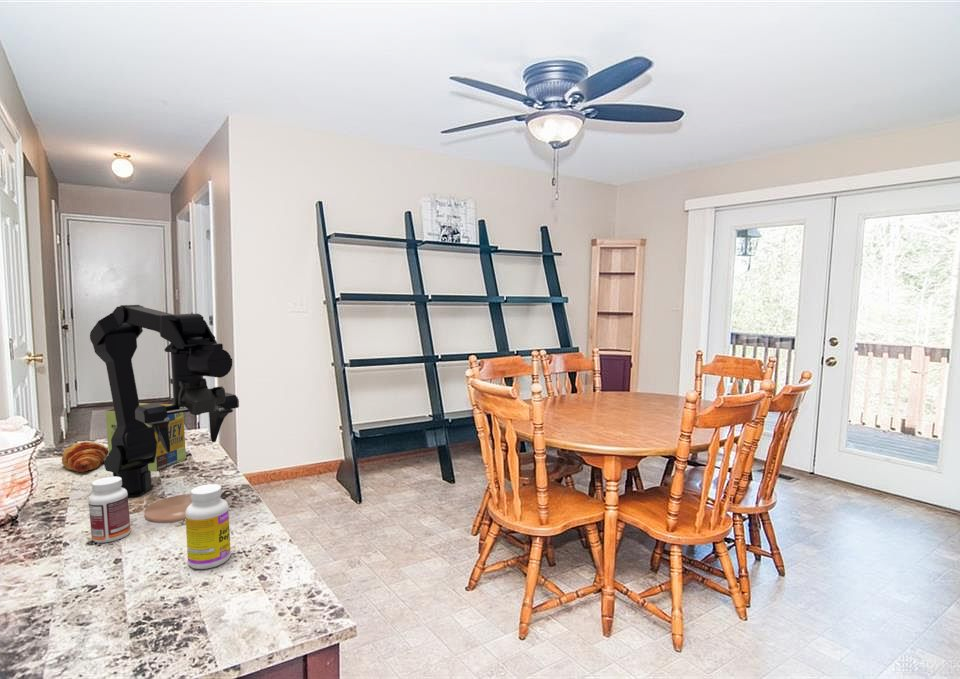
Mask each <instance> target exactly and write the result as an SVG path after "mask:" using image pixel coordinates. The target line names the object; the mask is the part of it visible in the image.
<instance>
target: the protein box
mask: <svg viewBox="0 0 960 679" xmlns="http://www.w3.org/2000/svg"><path fill="white" fill-rule="evenodd" d="M146 404H148V403H144V402H143V403H142V402H139V405H146ZM160 404H161V405H164V406H168V405H171V404H169V403H168V404H167V403H166V404H165V403H160ZM180 408H182V407H180ZM165 420H166V421H169V425H168V433H169V440H170V452H166V450H165V448H164V446H163V445H162V443H161V441H160V439H159V437H158V435H157V433H156V432H155V438H156V441H157V451H156V457H155V462H154V463H150V464H148V469H149V470H150V471H151V472H159V471H160V470H163V469H165V468H166V469H167V468H168V467H170V466H173V465H175V464H178V463H180V461H181V462H182V460H183V461H186V460H187V451H186V450H187V449H186V435H185V420H184V412H181V413H176V414H170V415H167V417H166V418H165ZM105 421H106V434H107V435H106V436H107V449H108V454H109V452H110V451H111V449H112V445H111V439H112V436H113V434H114V432H115V430H116V428H117V422H116V416H115V411H114V408H112V409H107V410H105ZM145 424H146V423H145ZM146 425H147V426H148V427H152V426H151V425H148V424H146ZM185 459H186V460H185Z"/></svg>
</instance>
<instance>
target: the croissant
mask: <svg viewBox="0 0 960 679" xmlns="http://www.w3.org/2000/svg"><path fill="white" fill-rule="evenodd" d="M108 454H109V453H108V447H106V446H105V445H104V444H102V443H99V442H98V443H96V442H93V441H82V442H77V443H75V444H73V445H70V446H69V447H67V448H65V449H64V451H63V454H62V456H61V464H62V465H63V466H64V467H65V468H66V469H67V470H70V471H74V472H77V473H83V472H87V471H88V470H89V471H91V470H95V469H97V468H98V467H99V466H101V465H102V464H104V460H105V459H106V457H107V456H108Z"/></svg>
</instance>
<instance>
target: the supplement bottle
mask: <svg viewBox="0 0 960 679" xmlns="http://www.w3.org/2000/svg"><path fill="white" fill-rule="evenodd" d="M190 494H191V499H192V501H193V503H192V504H190V505H189V506H188V507H187V509H186V512H185V517H186V520H185V529H186V530H185V531H186V533H185V534H186V550H187V563H188V566H190V567H191V568H193V569H197V570H204V569H205V570H206V569H211V568H216V567H218V566H221V565H222V564H224V563H225V562H227V561H228V560H229V558H230V557H231V554H232V553H231V552H232V551H231V533H230V532H231V531H230V513H229V512H230V511H229V503H228V502H227V501H226V499H224V498H221V496H222V485H220V484H216V483H215V484H214V483H210V484H203V485H200V486H196V487H194V488H192V489H191V491H190Z"/></svg>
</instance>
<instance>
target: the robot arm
mask: <svg viewBox="0 0 960 679" xmlns="http://www.w3.org/2000/svg"><path fill="white" fill-rule="evenodd" d="M144 329H146V330H150V331H154V332H156V333H157V332H158V333H159V335H160V337H161V338H162V339H164V340H166V341H168V342H169V344H168V345H167V346H166V347H165V348H164V352H165V353H170V360H171V362H170V364H171V365H170V366H171V375H172V376H171V377H172V378H169V383H170V384H171V385H172V395H173V396H172V397H171V403H172V404H170V405H168V406H164V405H161V404H162V403H158V402H153V403H147V404H146V405H139V403H140V402H139V401H140V400H139V395H138V394H139V393H138V389H137V384H136V379H135V378H136V377H135V373H134V367H133V362H132V359H133V358H134V354H135V353H136V351H137V348H138V338H139V337H140V335H141V334H142V333H143V332H144ZM89 340H90V342H91V343H92V348H93V350H94V353H95V355H97V357H98V358H99V359H100V360H102V362H104V364H105V366H106V371H107V372H106V373H107V378H108V382H109V387H110V393H111V399H112V405H113V409H114V411H115V416H116V422H117V428H116V430H115V432H114V434H113V436H112V439H111V445H112V449H111V451H110V452H109V453H108V455H107V457H106V458H105V459H104V461H103V465H104V468H105V471H106V472H110V473H112V477H121V478H122V486H121V487H122V488H124V489H126V490H127V493H128V498H137V497H141V496H143V495H144V494H145V493H147V492H148V491H150V490H151V489H153V488H154V484H152V474H151V473H152V471H150V470H149V469H148V464H150V463H154V462H155V457H156V451H157V441H156V438H155V432H156V433H157V435H158V437H159V439H160V441H161V443H162V445H163V446H164V448H165V450H166V452H170V440H169V433H168V425H169V421H166V420H165V418H166V417H167V415H170V414H176V413H181V412H183V413H186V412H187V413H188V412H189V413H190V415H192V416H199V415H201V414H206V413H208V419H209V435H210V439H211V440H210V441H211V442H212V443H216V441H217V440H218V435H219V432H220V430H221V427H222V423H223V422H224V420H225V418H226V417H227V416H228V415H229V414H230V413H233V412H234V409H238V408H239V407H240V401H239V400H240V399H239V398H238V396H237V395H236V394H233V393H229V392H226V390H225V388H224V387H223V386H222V385H221V386H215V387H212V388H209V387H208V385H207V384H208V383H207V378H205V377H211V378H218V379H219V378H223V377H224V378H225V377H226V376H227V375H228V374H229V373H230V372H231V369H232V367H233V358H232V357H231V354H230V353H229V352H228V351H227V350H225V349H224V344H223V343H220V342H219V343H218V342H217V340H216V336H215V335H214V334H213V332H212V330H211V329H210V327H209V325H208V323H207V322H206V320H205V319H204V316H203V315H201V314H200V313H170V312H165V311H161V310H157V309H153V308H149V307H145V306H143V305H140V304H125V305H121V304H120V305H119V306H116V308H115V309H114V310H113V311H112V312H110V314H107V315H106V316H105V317H102V318H101V319H99V320H98V321H97V322H96V324H95V325H94V327H92V329H91V331H90V334H89ZM180 407H182V408H180ZM145 423H146V424H148V425H151V426H152V427H148V426H147V425H146V424H145Z"/></svg>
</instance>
